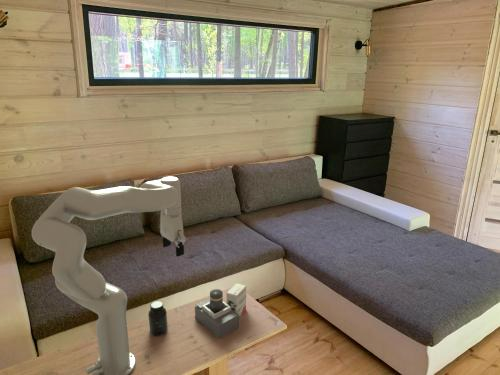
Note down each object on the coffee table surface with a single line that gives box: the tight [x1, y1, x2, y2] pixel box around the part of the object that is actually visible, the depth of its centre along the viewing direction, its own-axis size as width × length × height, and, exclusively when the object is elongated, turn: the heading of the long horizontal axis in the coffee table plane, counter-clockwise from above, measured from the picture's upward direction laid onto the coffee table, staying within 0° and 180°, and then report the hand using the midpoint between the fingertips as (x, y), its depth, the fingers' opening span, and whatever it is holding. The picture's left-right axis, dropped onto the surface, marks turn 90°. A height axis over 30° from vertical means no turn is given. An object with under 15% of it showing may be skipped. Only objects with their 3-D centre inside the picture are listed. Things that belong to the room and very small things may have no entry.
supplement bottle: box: [148, 300, 169, 337], centre depth 144 cm, size 7×7×12 cm
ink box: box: [226, 282, 247, 318], centre depth 155 cm, size 8×5×12 cm, turn 152°
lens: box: [209, 288, 224, 313], centre depth 147 cm, size 5×5×8 cm
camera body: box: [194, 297, 240, 339], centre depth 149 cm, size 16×10×8 cm, turn 42°
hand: (173, 250), depth 144 cm, fingers open, 9 cm apart
